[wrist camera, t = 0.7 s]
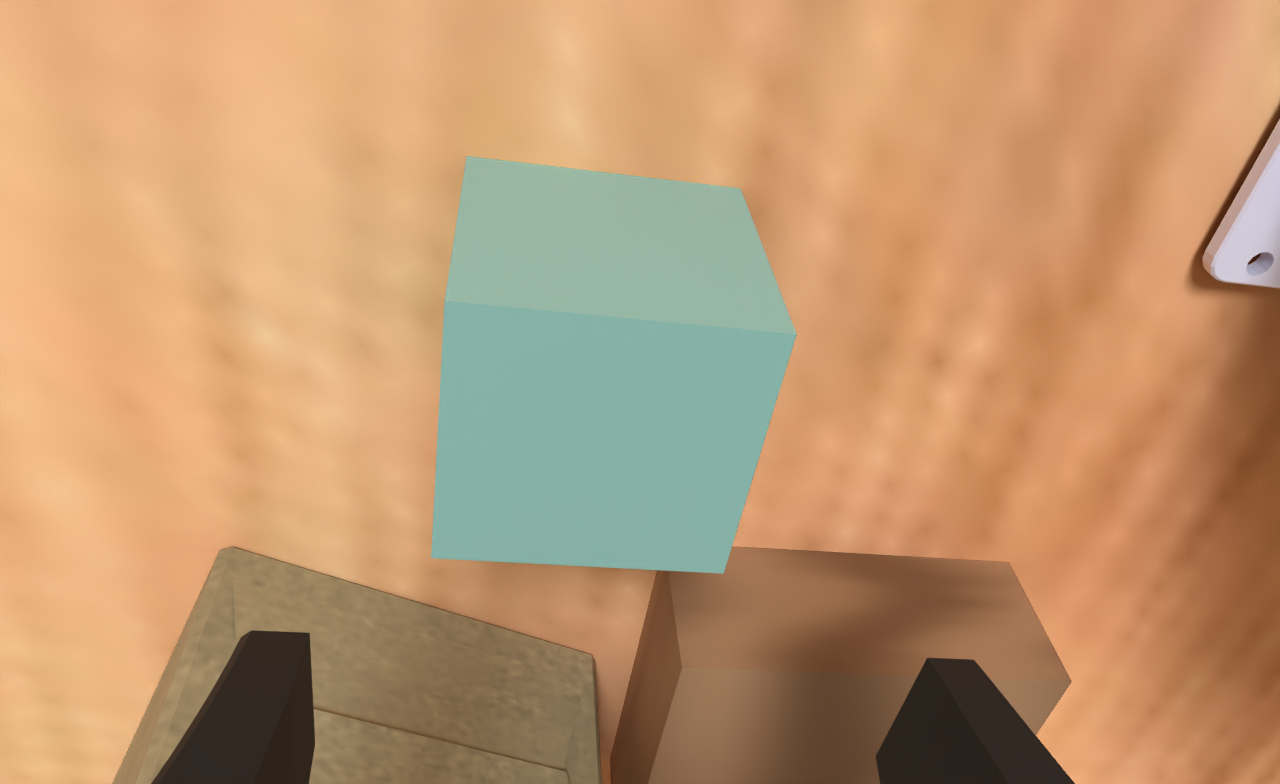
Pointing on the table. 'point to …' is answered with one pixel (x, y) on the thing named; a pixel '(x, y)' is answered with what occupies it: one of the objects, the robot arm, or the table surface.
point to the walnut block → (814, 662)
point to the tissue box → (385, 684)
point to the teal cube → (602, 369)
